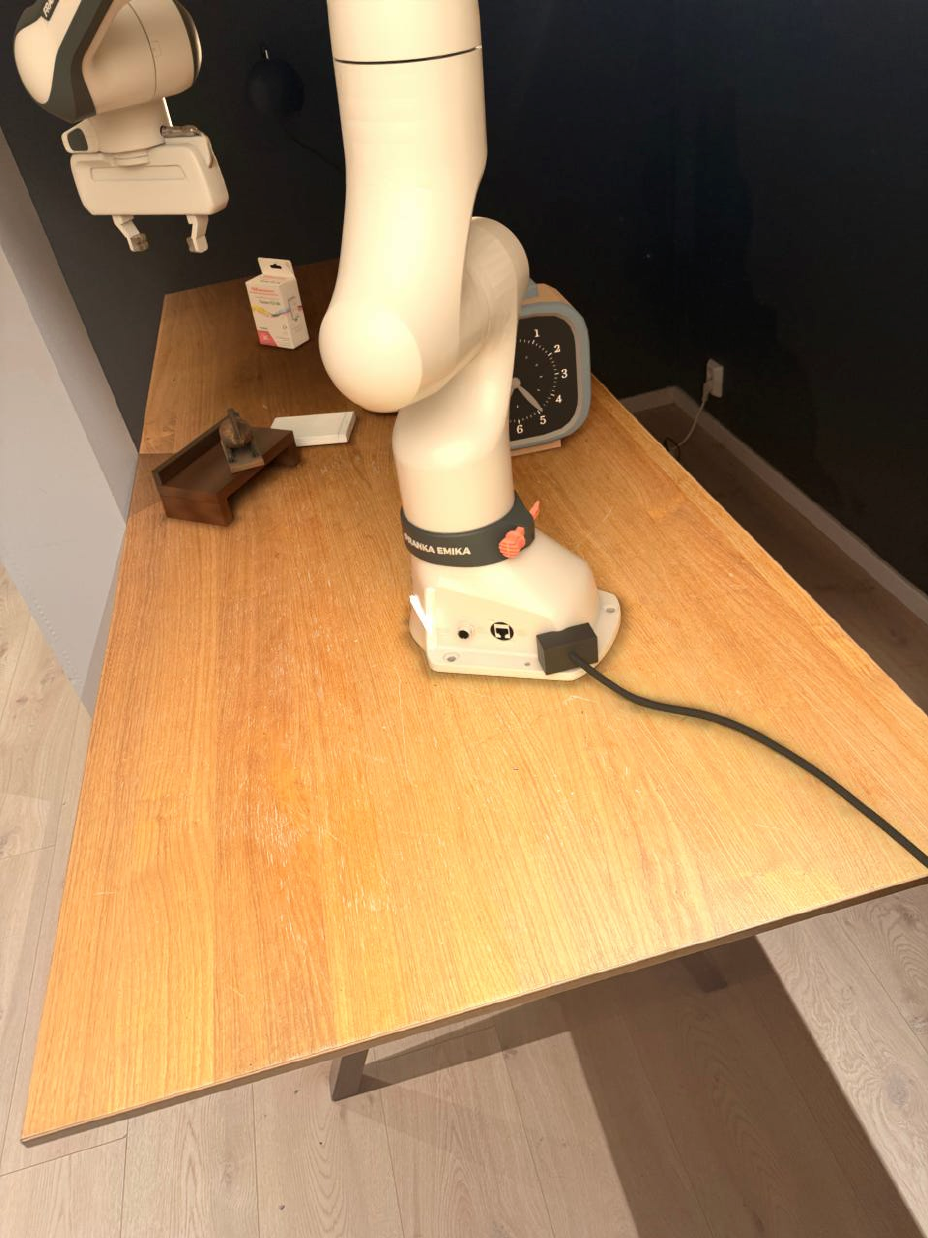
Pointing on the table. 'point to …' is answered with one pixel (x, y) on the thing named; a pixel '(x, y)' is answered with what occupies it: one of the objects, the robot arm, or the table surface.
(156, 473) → the shelf
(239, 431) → the figurine
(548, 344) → the alarm clock
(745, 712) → the table surface
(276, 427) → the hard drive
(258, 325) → the ink cartridge box
